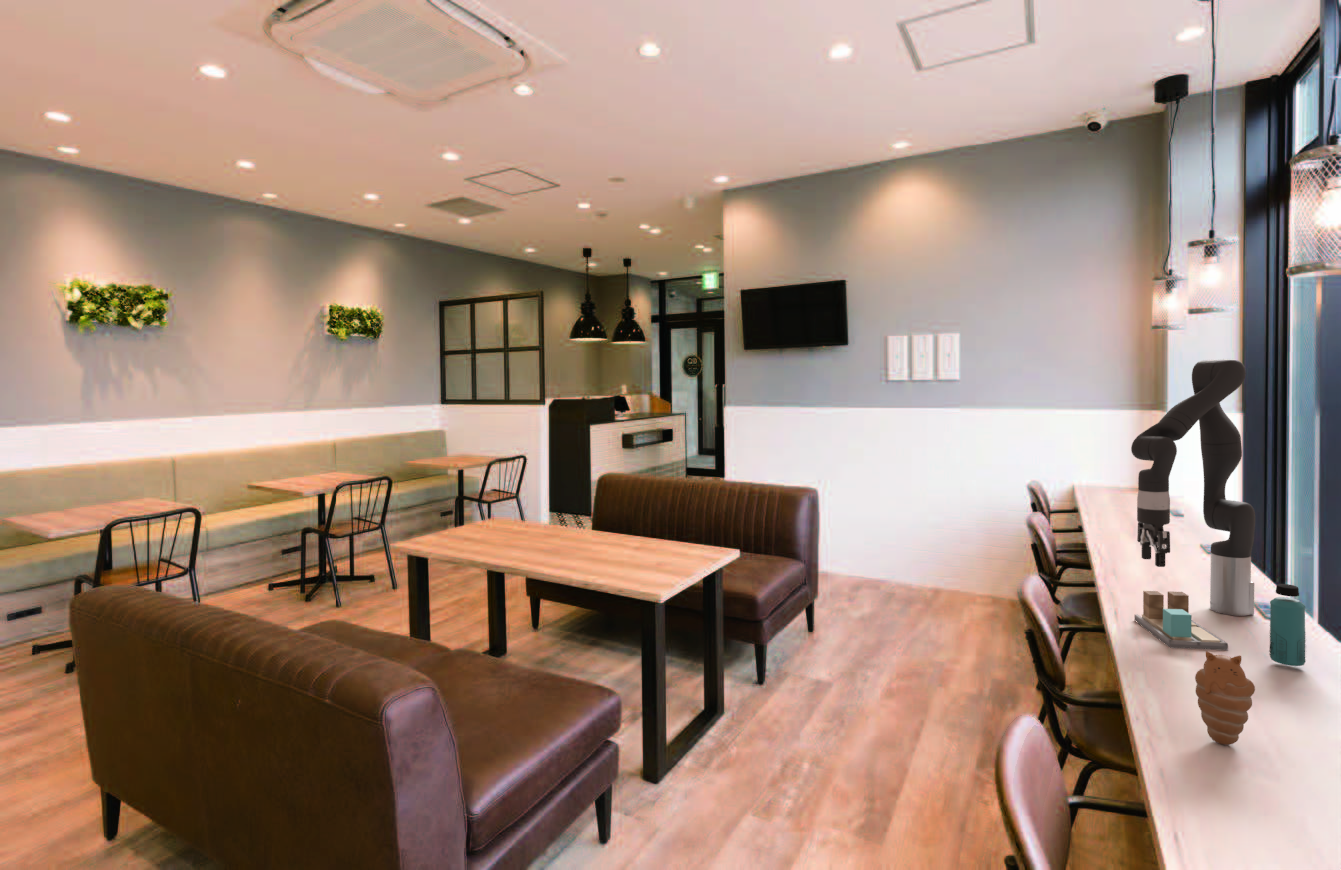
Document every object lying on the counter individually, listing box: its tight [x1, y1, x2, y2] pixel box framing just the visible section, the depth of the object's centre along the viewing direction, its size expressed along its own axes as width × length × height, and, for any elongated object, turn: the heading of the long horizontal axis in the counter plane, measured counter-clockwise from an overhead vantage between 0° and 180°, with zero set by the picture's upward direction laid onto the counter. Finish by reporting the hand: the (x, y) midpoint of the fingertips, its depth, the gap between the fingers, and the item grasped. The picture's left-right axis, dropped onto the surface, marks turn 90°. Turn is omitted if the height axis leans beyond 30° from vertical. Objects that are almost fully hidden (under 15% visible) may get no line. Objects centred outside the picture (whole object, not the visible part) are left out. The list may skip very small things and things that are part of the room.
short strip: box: [1167, 591, 1197, 627], centre depth 188 cm, size 4×8×8 cm, turn 166°
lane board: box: [1134, 613, 1229, 651], centre depth 183 cm, size 13×21×2 cm, turn 166°
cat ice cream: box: [1194, 650, 1256, 746], centre depth 128 cm, size 9×8×18 cm
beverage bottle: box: [1268, 583, 1307, 667], centre depth 160 cm, size 6×7×20 cm
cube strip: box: [1141, 590, 1192, 641], centre depth 184 cm, size 4×19×8 cm, turn 166°
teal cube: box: [1163, 608, 1192, 637], centre depth 178 cm, size 5×5×6 cm
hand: (1153, 562), depth 190 cm, fingers open, 8 cm apart
